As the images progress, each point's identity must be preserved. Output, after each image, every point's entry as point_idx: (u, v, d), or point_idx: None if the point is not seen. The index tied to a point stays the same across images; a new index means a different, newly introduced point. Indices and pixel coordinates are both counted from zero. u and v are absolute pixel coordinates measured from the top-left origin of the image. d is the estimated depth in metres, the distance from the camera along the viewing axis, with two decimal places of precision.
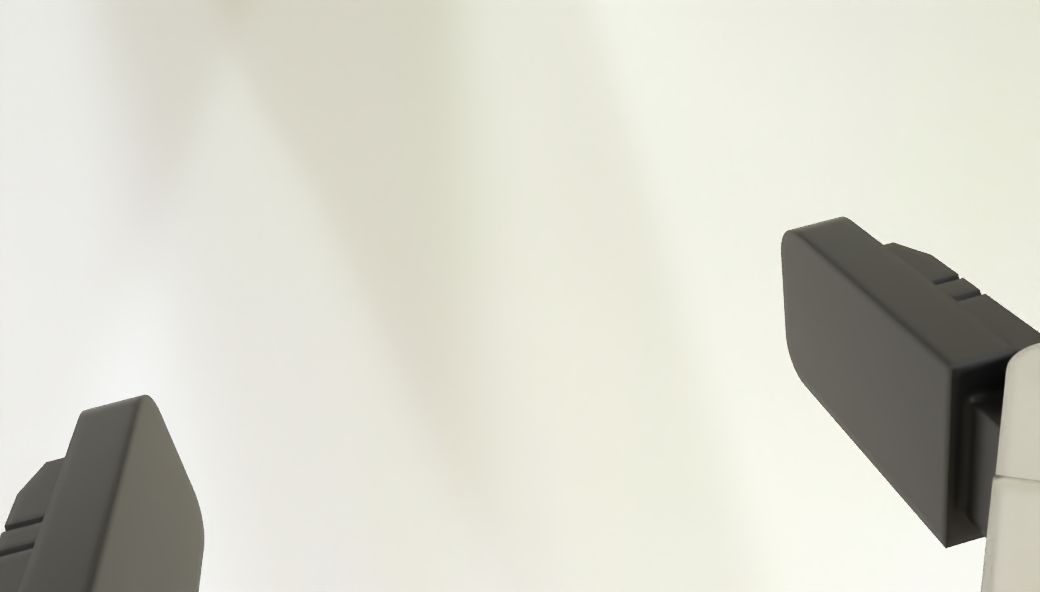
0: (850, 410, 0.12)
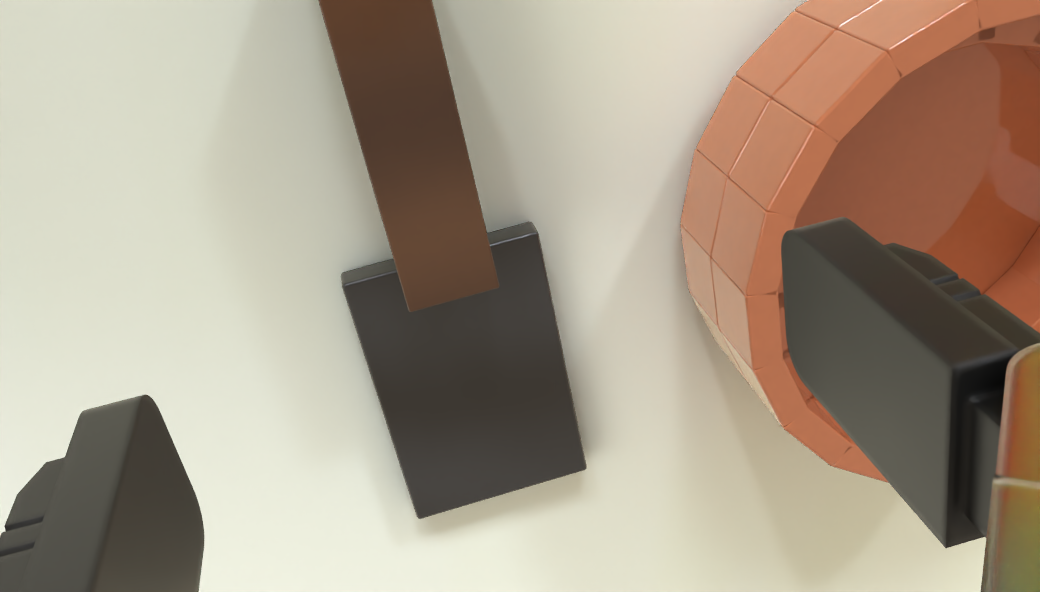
0: (850, 410, 0.12)
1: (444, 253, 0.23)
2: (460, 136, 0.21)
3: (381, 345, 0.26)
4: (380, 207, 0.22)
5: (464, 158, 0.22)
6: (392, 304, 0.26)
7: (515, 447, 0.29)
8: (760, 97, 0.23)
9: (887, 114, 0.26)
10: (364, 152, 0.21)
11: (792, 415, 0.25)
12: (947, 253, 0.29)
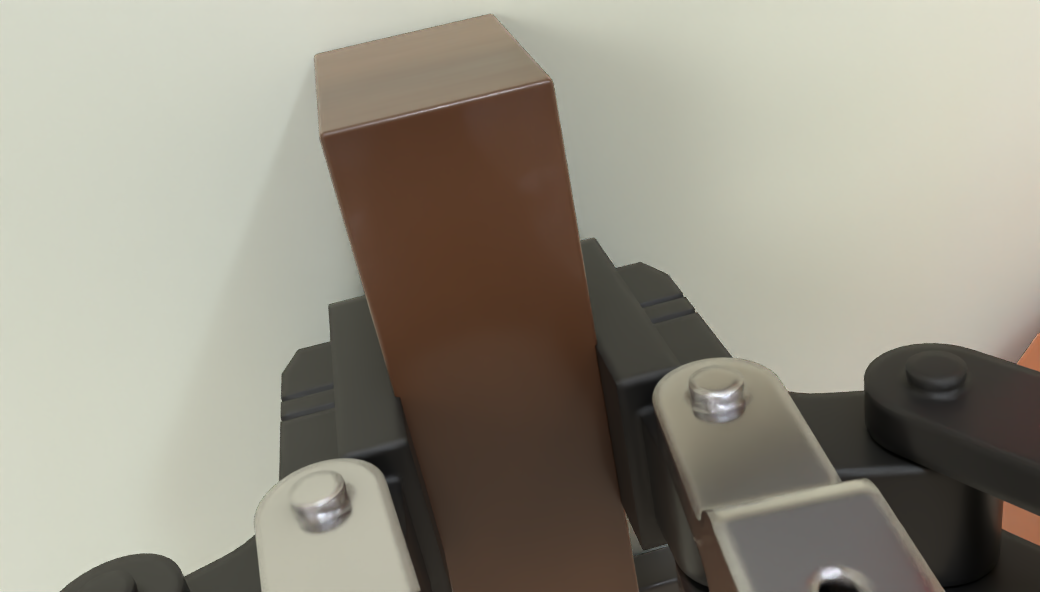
0: None
1: None
2: (618, 507, 0.12)
3: None
4: None
5: (623, 542, 0.12)
6: None
7: None
8: None
9: None
10: None
11: None
12: None
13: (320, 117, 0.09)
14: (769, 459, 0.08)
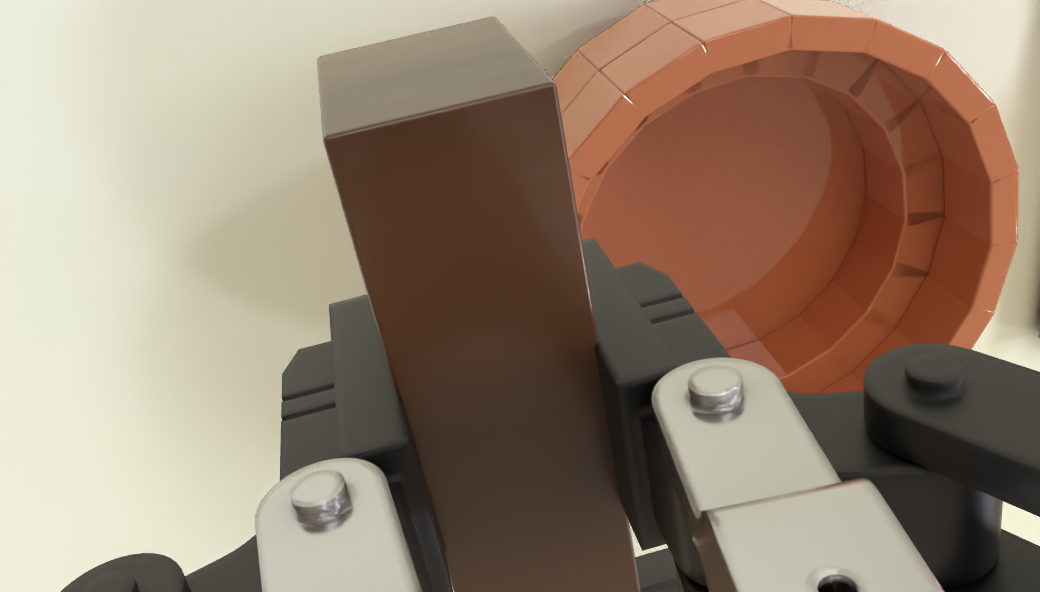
0: None
1: None
2: (620, 509, 0.12)
3: None
4: None
5: (624, 544, 0.12)
6: None
7: None
8: None
9: (795, 173, 0.29)
10: (443, 545, 0.11)
11: (640, 100, 0.22)
12: None
13: (323, 120, 0.09)
14: (768, 459, 0.08)
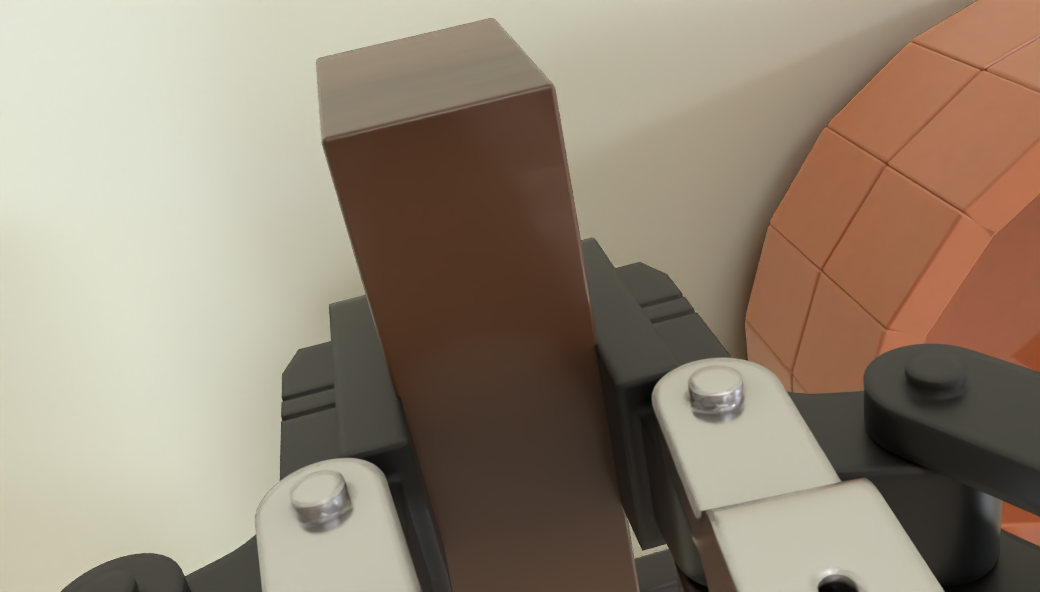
0: None
1: None
2: (619, 510, 0.12)
3: None
4: None
5: (624, 545, 0.12)
6: None
7: None
8: None
9: None
10: None
11: None
12: None
13: (322, 122, 0.09)
14: (768, 458, 0.08)
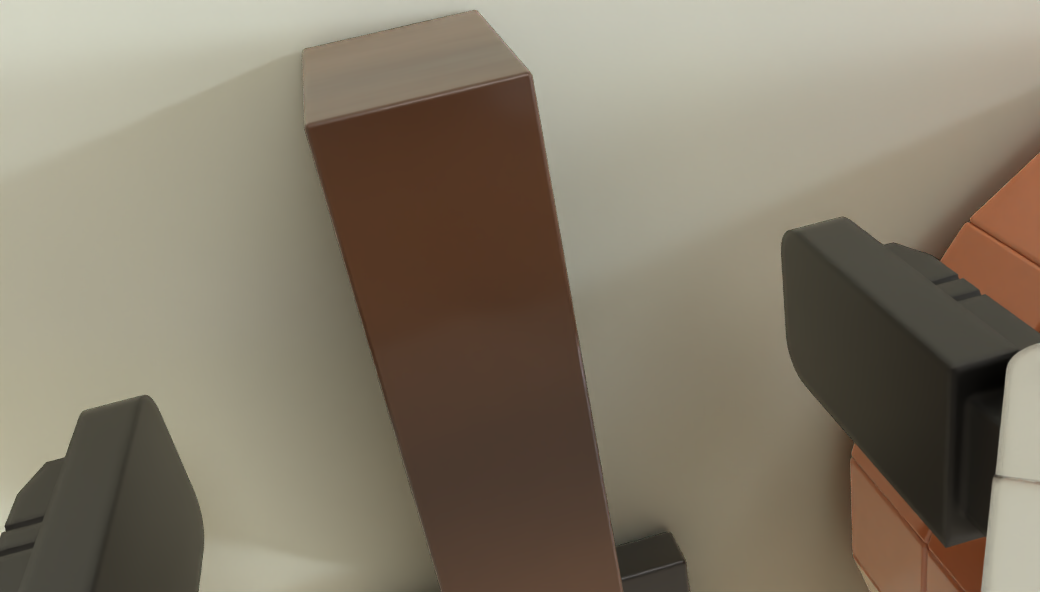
0: (850, 410, 0.12)
1: None
2: (599, 493, 0.12)
3: None
4: None
5: (604, 527, 0.12)
6: None
7: None
8: None
9: None
10: (425, 528, 0.11)
11: None
12: None
13: (305, 109, 0.10)
14: None
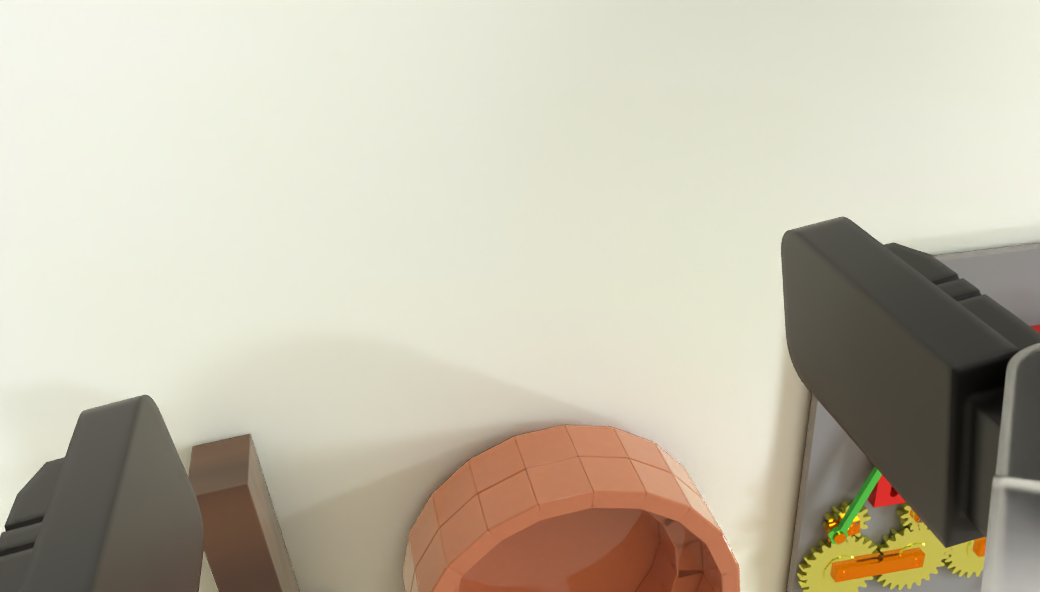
0: (850, 410, 0.12)
1: None
2: (279, 590, 0.38)
3: None
4: None
5: None
6: None
7: None
8: (665, 465, 0.40)
9: (611, 529, 0.43)
10: None
11: (497, 534, 0.36)
12: (509, 586, 0.43)
13: None
14: None
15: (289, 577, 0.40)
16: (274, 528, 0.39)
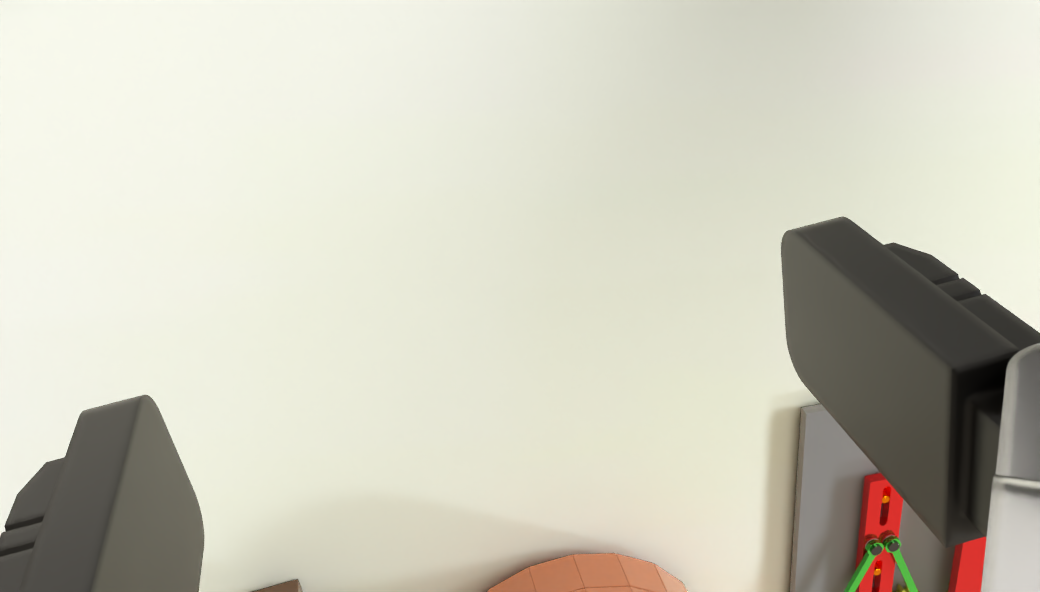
0: (850, 410, 0.12)
1: None
2: None
3: None
4: None
5: None
6: None
7: None
8: (663, 588, 0.45)
9: None
10: None
11: None
12: None
13: None
14: None
15: None
16: None
